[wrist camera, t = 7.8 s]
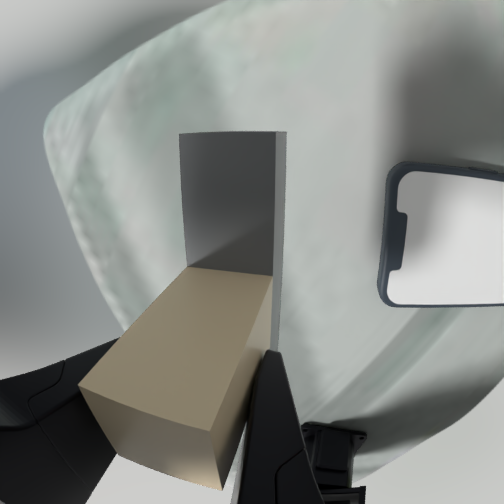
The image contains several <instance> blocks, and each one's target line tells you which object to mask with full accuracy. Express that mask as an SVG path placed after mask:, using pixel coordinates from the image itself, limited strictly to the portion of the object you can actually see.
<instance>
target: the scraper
mask: <svg viewBox="0 0 504 504" xmlns="http://www.w3.org/2000/svg"><path fill="white" fill-rule="evenodd" d="M286 135H287V132H279V131H222V132H199V133H184V134H179V147H180V172H181V191H182V208H183V222H184V235H185V247H186V259H187V267H186V268H185V269H184V270H183V271H182V272H181V274H180V275H179V276H178V277H177V278H176V279H175V280H174V281H173V282H172V283H171V284H170V285H169V286H168V287H167V288H166V289H165V290H164V291H163V292H162V293H161V294H160V295H159V296H158V298H157V299H156V300H155V301H154V302H153V303H152V304H151V305H150V306H149V307H148V308H147V309H146V310H145V311H144V312H143V313H142V315H141V316H140V317H139V318H138V319H137V320H136V321H135V322H134V323H133V324H132V325H131V326H130V327H129V329H128V330H127V331H126V332H125V333H124V334H123V335H122V336H121V337H120V338H119V339H118V340H117V342H116V343H115V344H114V345H113V346H112V347H111V348H110V349H109V350H108V351H107V353H106V354H105V355H104V356H103V357H102V358H101V359H100V360H99V361H98V363H97V364H96V365H95V366H94V367H93V368H92V369H91V370H90V372H89V373H88V374H87V375H86V376H85V377H84V378H83V379H82V381H81V382H80V383H79V384H78V386H79V388H80V390H81V392H82V394H83V396H84V398H85V400H86V402H87V404H88V406H89V407H90V409H91V411H92V413H93V415H94V416H95V418H96V420H97V422H98V423H99V425H100V427H101V428H102V430H103V432H104V433H105V435H106V437H107V438H108V440H109V441H110V443H111V445H112V446H113V448H114V449H115V451H116V452H117V454H118V455H120V456H121V457H124V458H126V459H129V460H131V461H133V462H136V463H138V464H140V465H143V466H145V467H148V468H151V469H154V470H156V471H159V472H161V473H165V474H167V475H170V476H173V477H176V478H179V479H182V480H185V481H189V482H192V483H195V484H199V485H202V486H206V487H210V488H213V489H217V490H221V491H222V490H223V488H224V485H225V482H226V479H227V477H228V474H229V471H230V468H231V466H232V463H233V460H234V457H235V454H236V451H237V448H238V445H239V443H240V440H241V437H242V434H243V431H244V428H245V425H246V422H247V417H248V411H249V406H250V402H251V397H252V392H253V388H254V383H255V379H256V376H257V373H258V370H259V368H260V365H261V362H262V360H263V357H264V354H265V352H266V350H268V349H269V350H274V351H278V340H279V324H280V307H281V288H282V268H283V245H284V218H285V185H286Z"/></svg>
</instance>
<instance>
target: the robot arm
mask: <svg viewBox="0 0 504 504" xmlns="http://www.w3.org/2000/svg"><path fill="white" fill-rule="evenodd" d="M119 338H120V337H119ZM119 338H117V339H114V340H112V341H109V342H107V343H105V344H102V345H100V346H97V347H95V348H92V349H90V350H87V351H85V352H83V353H80V354H77V355H75V356H72V357H70V358H67V359H66V360H62V361H60V362H57V363H55V364H52V365H49V366H47V367H44V368H41V369H38V370H35V371H32V372H28V373H25V374H21V375H17V376H14V377H10V378H6V379H2V380H0V504H85V503H86V502H87V500H88V499H89V497H90V496H91V494H92V492H93V490H94V489H95V487H96V486H97V484H98V482H99V481H100V479H101V478H102V476H103V475H104V473H105V471H106V470H107V468H108V467H109V465H110V463H111V462H112V460H113V458H114V457H115V455H116V454H117V452H116V451H115V449H114V448H113V446H112V445H111V443H110V441H109V440H108V438H107V437H106V435H105V433H104V432H103V430H102V428H101V427H100V425H99V423H98V422H97V420H96V418H95V416H94V415H93V413H92V411H91V409H90V407H89V406H88V404H87V402H86V400H85V398H84V396H83V394H82V392H81V390H80V388H79V386H78V384H79V383H80V382H81V381H82V379H83V378H84V377H85V376H86V375H87V374H88V373H89V372H90V370H91V369H92V368H93V367H94V366H95V365H96V364H97V363H98V361H99V360H100V359H101V358H102V357H103V356H104V355H105V354H106V353H107V351H108V350H109V349H110V348H111V347H112V346H113V345H114V344H115V343H116V342H117V340H118V339H119ZM366 438H367V434H366V433H364V432H356V431H348V430H340V429H333V428H327V427H320V426H314V425H309V424H303V425H301V426H300V423H299V419H298V416H297V412H296V408H295V404H294V400H293V396H292V393H291V389H290V385H289V381H288V377H287V373H286V370H285V366H284V362H283V358H282V355H281V353H280V352H278V351H274V350H269V349H268V350H266V352H265V354H264V357H263V360H262V362H261V365H260V368H259V370H258V373H257V376H256V379H255V383H254V388H253V392H252V397H251V402H250V406H249V411H248V417H247V422H246V425H245V429H244V435H243V440H242V446H241V451H240V457H239V462H238V467H237V473H236V478H235V483H234V489H233V494H232V499H231V504H365V494H366V493H365V492H366V486H360V487H356V488H351V486H352V475H353V461H354V454H355V453H356V452H357V450H358V449H359V448H360V447H361V445H362V444H363V443H364V441H365V440H366Z"/></svg>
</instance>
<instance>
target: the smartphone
mask: <svg viewBox="0 0 504 504" xmlns="http://www.w3.org/2000/svg"><path fill="white" fill-rule="evenodd" d="M377 288H378V292H379V295H380V298H381V299H382V301H383V302H384V303H385V304H387V305H388V306H391V307H412V308H436V307H489V306H504V174H501V173H498V172H496V171H493V170H486V169H480V168H473V167H469V168H462V167H454V166H446V165H437V164H427V163H417V162H402V163H399V164H397V165H396V166H394V167H393V168H392V169H391V170H390V172H389V174H388V176H387V179H386V193H385V210H384V223H383V235H382V245H381V255H380V263H379V271H378V279H377Z"/></svg>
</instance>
